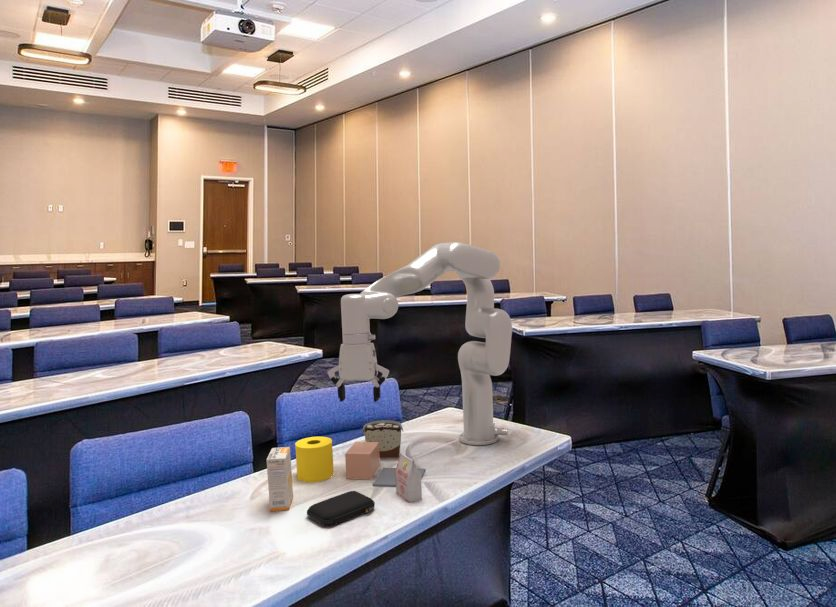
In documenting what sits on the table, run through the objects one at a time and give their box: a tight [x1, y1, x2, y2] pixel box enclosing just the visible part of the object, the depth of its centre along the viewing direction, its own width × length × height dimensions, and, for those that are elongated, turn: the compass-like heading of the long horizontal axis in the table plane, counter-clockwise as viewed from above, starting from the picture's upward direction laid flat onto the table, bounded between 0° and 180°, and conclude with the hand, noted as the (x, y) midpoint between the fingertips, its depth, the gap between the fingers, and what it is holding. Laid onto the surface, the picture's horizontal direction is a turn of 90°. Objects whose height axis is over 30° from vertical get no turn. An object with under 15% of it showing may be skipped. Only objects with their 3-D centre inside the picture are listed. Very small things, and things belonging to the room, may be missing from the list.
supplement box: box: [266, 446, 294, 512], centre depth 145 cm, size 8×5×13 cm, turn 5°
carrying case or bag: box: [306, 490, 376, 528], centre depth 138 cm, size 11×3×15 cm
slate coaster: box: [372, 467, 426, 488], centre depth 159 cm, size 12×12×1 cm
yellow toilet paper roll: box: [294, 436, 335, 483], centre depth 163 cm, size 10×10×9 cm
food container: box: [361, 419, 404, 460], centre depth 177 cm, size 12×6×10 cm, turn 84°
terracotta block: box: [344, 441, 381, 480], centre depth 164 cm, size 7×10×7 cm
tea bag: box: [395, 453, 423, 503], centre depth 147 cm, size 4×7×10 cm, turn 28°
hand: (359, 400), depth 163 cm, fingers open, 9 cm apart
